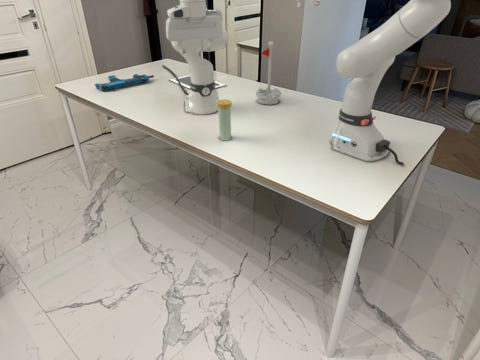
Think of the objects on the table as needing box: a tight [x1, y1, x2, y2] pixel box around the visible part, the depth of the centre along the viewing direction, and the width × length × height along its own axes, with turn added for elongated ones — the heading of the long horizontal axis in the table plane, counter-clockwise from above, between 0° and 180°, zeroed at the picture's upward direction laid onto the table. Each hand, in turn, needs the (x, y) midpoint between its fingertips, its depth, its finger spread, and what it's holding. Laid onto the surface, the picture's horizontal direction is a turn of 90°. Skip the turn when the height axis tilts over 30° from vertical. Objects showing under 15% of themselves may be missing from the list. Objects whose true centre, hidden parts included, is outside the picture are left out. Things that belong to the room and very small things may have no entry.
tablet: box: [169, 74, 227, 90], centre depth 208 cm, size 32×20×1 cm, turn 41°
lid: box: [217, 98, 233, 109], centre depth 136 cm, size 6×6×2 cm
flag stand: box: [255, 41, 282, 105], centre depth 173 cm, size 13×13×30 cm
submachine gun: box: [94, 73, 155, 91], centre depth 208 cm, size 34×4×25 cm
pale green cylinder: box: [217, 107, 232, 141], centre depth 140 cm, size 5×5×16 cm
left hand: (196, 52), depth 124 cm, fingers open, 8 cm apart
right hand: (308, 6), depth 134 cm, fingers open, 8 cm apart
